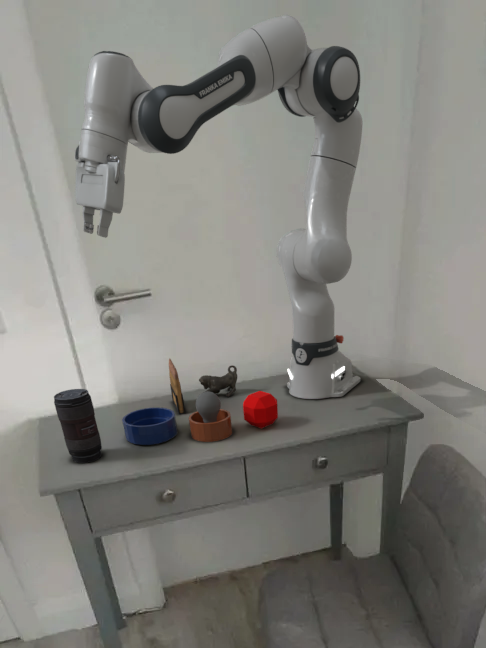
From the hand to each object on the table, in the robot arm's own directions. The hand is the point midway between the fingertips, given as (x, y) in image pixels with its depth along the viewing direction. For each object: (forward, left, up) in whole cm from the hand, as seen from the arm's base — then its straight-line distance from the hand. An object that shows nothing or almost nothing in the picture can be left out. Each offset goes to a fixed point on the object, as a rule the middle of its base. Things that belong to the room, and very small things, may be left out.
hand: (94, 234), depth 126 cm
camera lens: (+15, 0, -44) cm, 46 cm away
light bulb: (-11, +16, -43) cm, 48 cm away
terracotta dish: (-11, +16, -44) cm, 48 cm away
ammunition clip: (-20, -5, -44) cm, 48 cm away
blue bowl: (-2, +4, -44) cm, 44 cm away
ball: (-22, +23, -44) cm, 54 cm away
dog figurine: (-33, -2, -44) cm, 55 cm away
